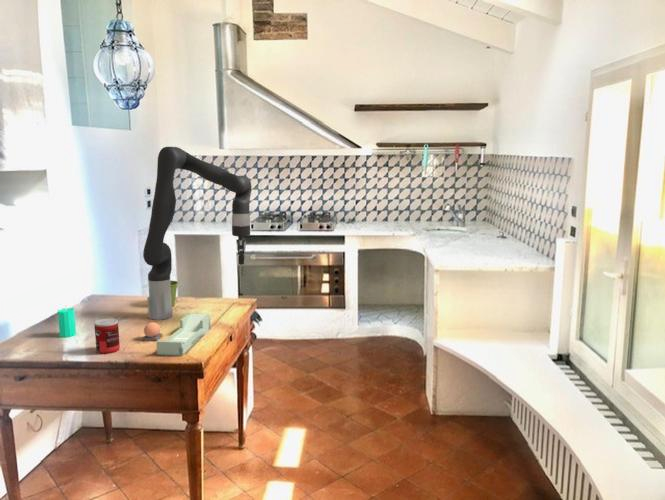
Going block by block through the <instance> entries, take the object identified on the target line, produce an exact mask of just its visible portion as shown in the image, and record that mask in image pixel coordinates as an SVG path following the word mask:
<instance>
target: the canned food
mask: <svg viewBox="0 0 665 500" xmlns="http://www.w3.org/2000/svg"><path fill="white" fill-rule="evenodd" d="M94 334H95V335H94V336H95V346H96V347H95V348H96V352H97V354H101V355H109V354H113V353H116V352H118V351H120V348H121V346H120V343H121V342H120V331H119V320H118V319H117V318H104V319H99V320H96V321H95V322H94Z"/></svg>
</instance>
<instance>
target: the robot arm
mask: <svg viewBox="0 0 665 500" xmlns="http://www.w3.org/2000/svg"><path fill="white" fill-rule="evenodd" d="M156 166H157V167H156V179H155V181H156V182H155V187H154V188H155V189H154V194H153V199H152V205H151V214H150V220H149V226H148V233H147V236H146V241H145V243H144V247H143V254H142V256H143V260H144V262H145V263H146V264H147V265H148V266H151V269H150V271H149V272H148V273H147V280H148V296H147V297H146V298H147V311H148V319H151V320H155V321H157V320H158V321H159V320H160V321H161V320H168V319H170V318H172V317H173V306H172V301H171V284H170V280H171V273H172V270H173V269H172V267H173V266H172V261H173V260H172V251H171V248H170V246H169V245H168V243H166V242H164V239H165V235H166V233H167V231H168V229H169V227H170V225H171V224H172V221H173V219H174V216H175V211H176V204H177V197H176V193H175V192H176V191H175V189H174V188H175V187H174V180H175V179H174V178H175V173H176V170H178V169H179V170H183V171H188V172H191V173H194V174H196V175H197V176H199V177H201V178H202V179H203V180H205V181H209V182H211V183H213V184H215V185H218V186H221V187H222V188H224V189H226V190H228V191H229V192H232V193H235V194H234V195H235V196H234V199H233V201H232V204H231V206H232V207H231V209H232V211H231V214H232V215H231V235H232V236H233V237H238V239H236V250H237V255H238V265H245V251H246V246H247V245H246V244H247V239H246V237H249V236H250V235H251V213H250V202H251V201H250V200H251V194H252V181H251V179H250V178H249V177H248V176H246V175H236V174H235V173H231V172H230V171H229V170H227V169H225V168H223V167H221V166H218V165H215V164H212V163H210V162H207V161H204V160H202V159H199V158H197V157H196V156H194V155H192V154H190V153H189V152H187V151H185V150H184V149H182V148H181V147H177V146H164V147H162V148H161V149H160V151H159V153H158V156H157V164H156Z"/></svg>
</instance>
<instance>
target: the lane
mask: <svg viewBox="0 0 665 500" xmlns="http://www.w3.org/2000/svg"><path fill="white" fill-rule="evenodd" d="M179 324H180V325H179V328H178V329H177V330H176V331H175V332H174V333H172V334H171V335H170V336H169V337H167V338H166V339H165V340H157V341H155V342H156V343H155V344H156V356H167V357H168V356H169V357H171V356H172V357H173V356H174V357H183V356H184V355H185V354H186V353H187V352H188V351H189V350H190V349H191V348H192V347H193V346H194V345H195V344H196V343H197V342H198V341H200V339H201V338H202V337H204V336H205V335H206V334H207V333H208V332H210V330H211V314H209V313H207V314H206V313H187V314H186V315H184V316H183V317H181V318H180V319H179Z"/></svg>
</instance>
